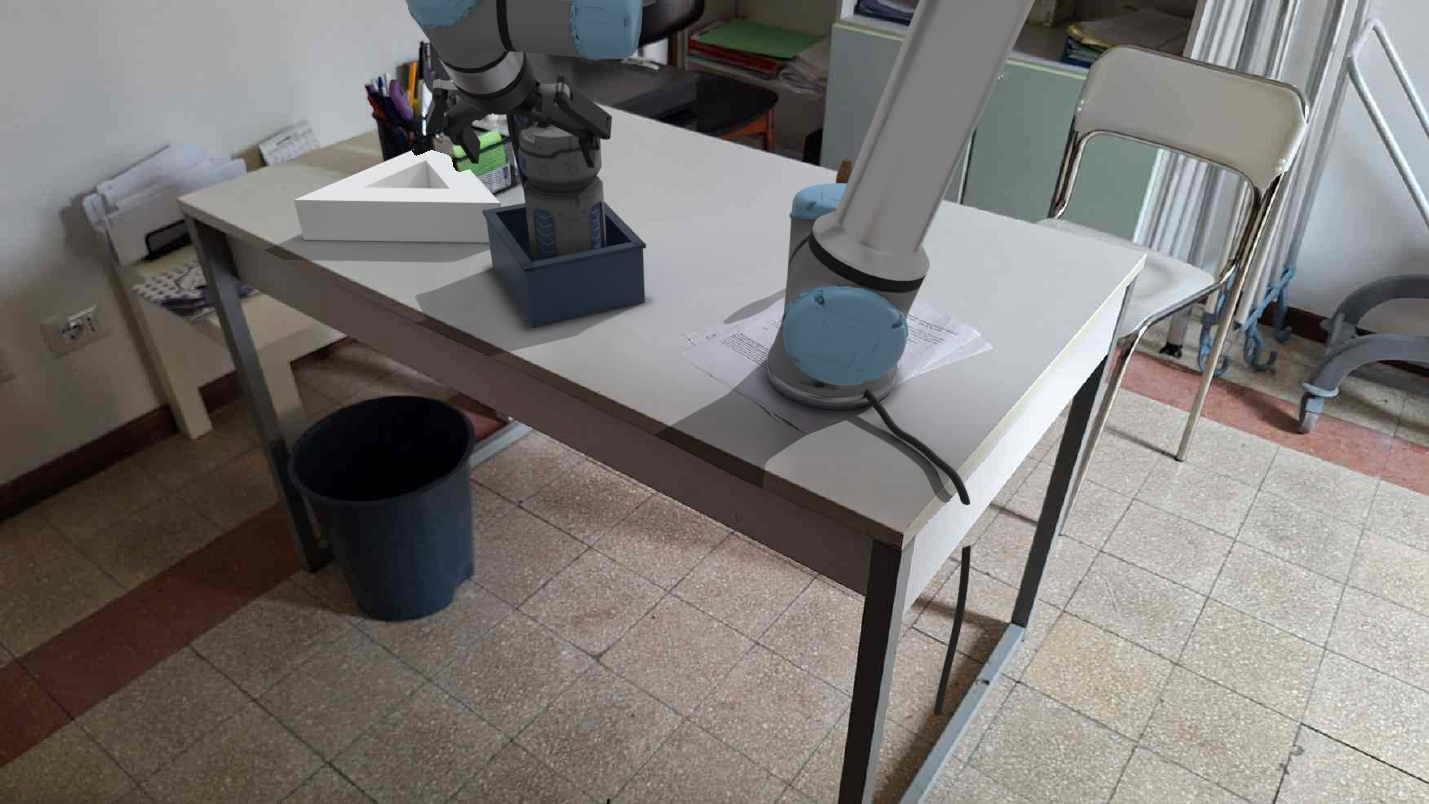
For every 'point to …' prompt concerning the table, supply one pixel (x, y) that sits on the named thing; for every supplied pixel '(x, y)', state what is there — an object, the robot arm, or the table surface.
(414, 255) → the table surface
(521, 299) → the dark blue open box
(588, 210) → the grey piece
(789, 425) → the table surface
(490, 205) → the triangle block
